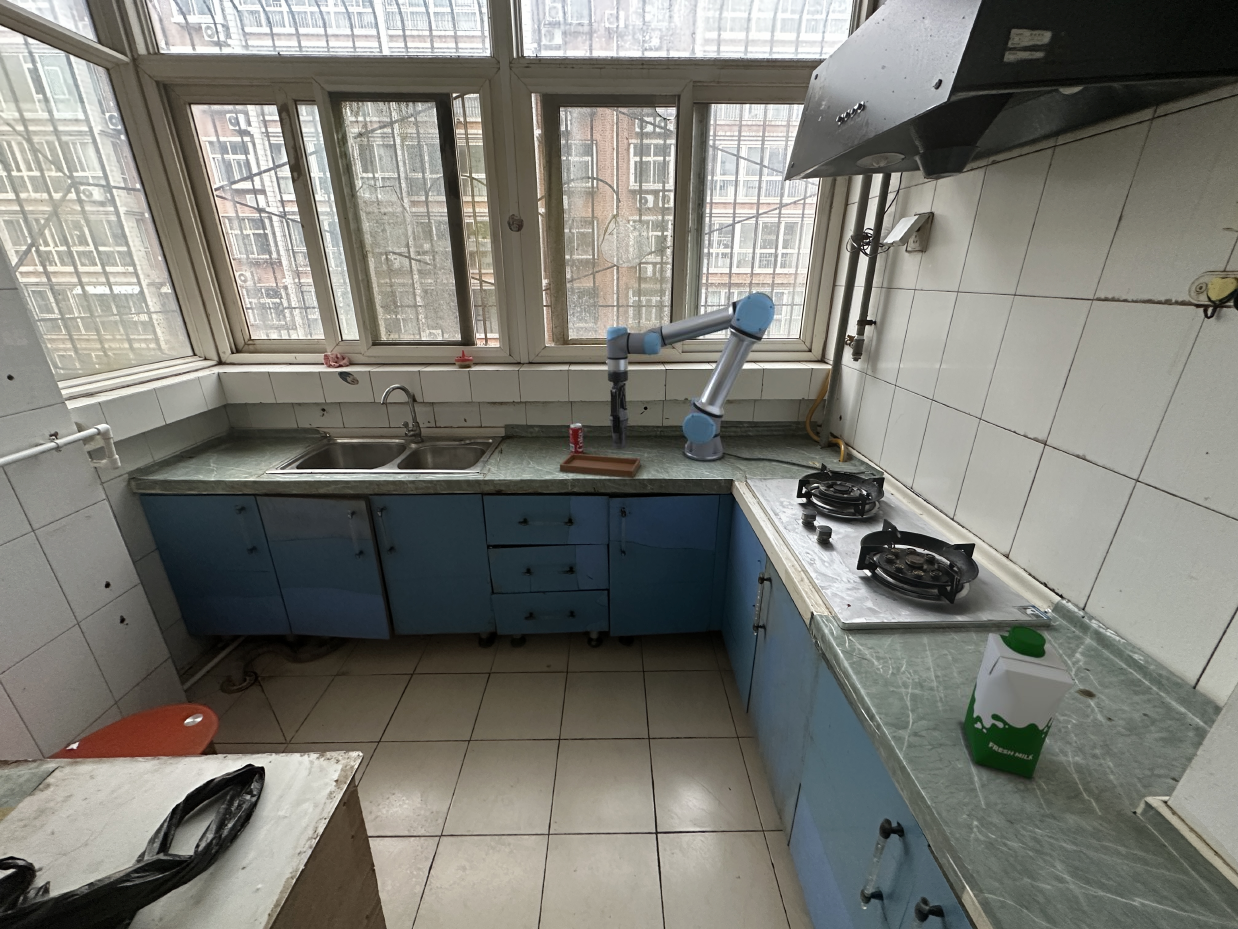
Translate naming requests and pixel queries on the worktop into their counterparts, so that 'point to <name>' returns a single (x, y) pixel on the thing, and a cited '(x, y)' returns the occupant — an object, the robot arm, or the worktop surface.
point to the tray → (600, 465)
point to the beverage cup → (620, 438)
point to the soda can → (576, 439)
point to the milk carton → (1015, 700)
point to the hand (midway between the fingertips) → (619, 429)
